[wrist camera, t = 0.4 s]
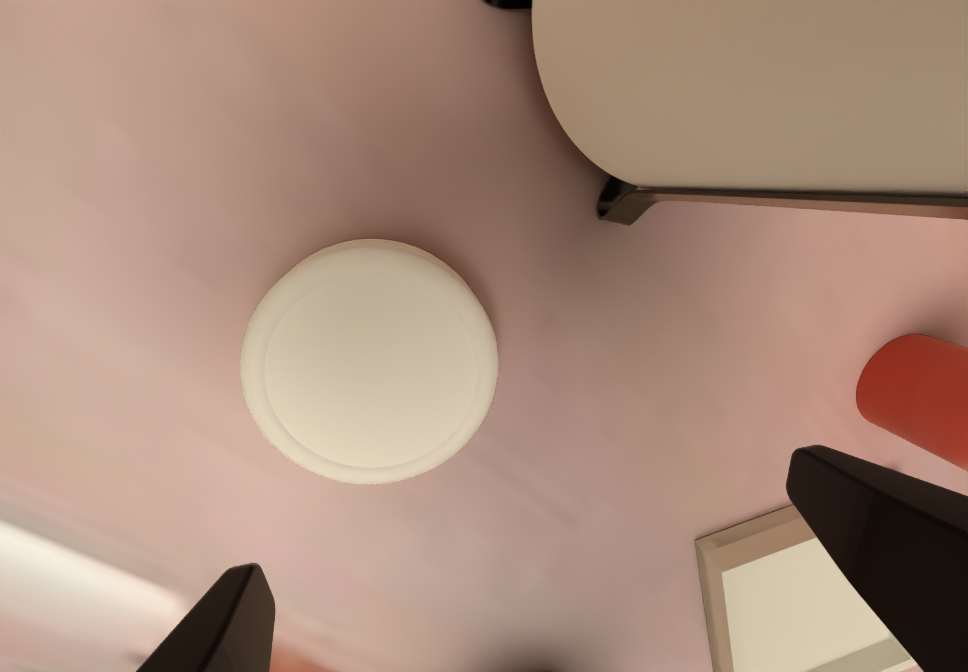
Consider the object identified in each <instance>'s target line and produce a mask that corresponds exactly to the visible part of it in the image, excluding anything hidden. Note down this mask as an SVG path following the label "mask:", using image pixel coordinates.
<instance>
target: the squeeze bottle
mask: <svg viewBox="0 0 968 672" xmlns="http://www.w3.org/2000/svg"><path fill="white" fill-rule="evenodd" d="M856 399H857V405H858V408H859V411H860V413H861V414H862V416H863V417H864V418H865V419H866V420H868V421H869V422H871V423H873V424H875V425H877V426H879V427H881V428H883V429H885V430H887V431H889V432H891V433H893V434H895V435H897V436H899V437H901V438H903V439H905V440H907V441H909V442H911V443H913V444H915V445H917V446H919V447H921V448H923V449H925V450H927V451H929V452H931V453H933V454H935V455H937V456H939V457H941V458H942V459H944V460H946V461H948V462H950V463H952V464H954V465H956V466H958V467H960V468H962V469H964V470H966V471H968V348H966V347H963V346H960V345H956V344H953V343H949V342H946V341H942V340H939V339H935V338H932V337H929V336H925V335H920V334H910V335H905V336H902V337H899V338H897V339H895V340H893V341H891V342H889V343H888V344H886V345H885V346H884V347H882V348H881V349H880V350H879V351H878V352H877V353H876V354H875V355H874V356H873V357H872V358H871V360H870V361H869V362H868V364H867V365H866V367H865V368H864V370H863V372H862V374H861V377H860V379H859V382H858V386H857V394H856Z"/></svg>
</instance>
